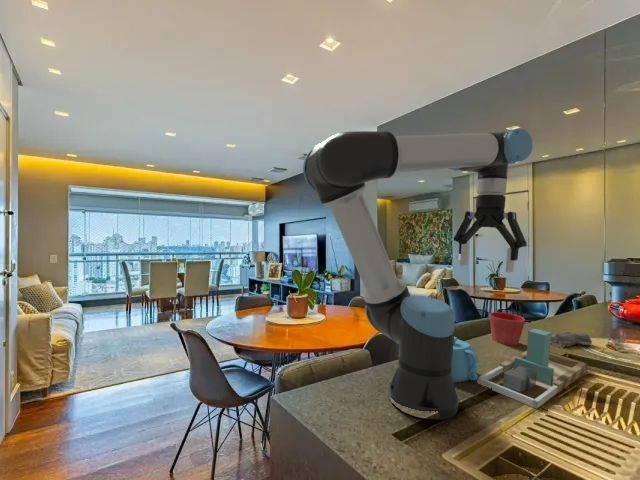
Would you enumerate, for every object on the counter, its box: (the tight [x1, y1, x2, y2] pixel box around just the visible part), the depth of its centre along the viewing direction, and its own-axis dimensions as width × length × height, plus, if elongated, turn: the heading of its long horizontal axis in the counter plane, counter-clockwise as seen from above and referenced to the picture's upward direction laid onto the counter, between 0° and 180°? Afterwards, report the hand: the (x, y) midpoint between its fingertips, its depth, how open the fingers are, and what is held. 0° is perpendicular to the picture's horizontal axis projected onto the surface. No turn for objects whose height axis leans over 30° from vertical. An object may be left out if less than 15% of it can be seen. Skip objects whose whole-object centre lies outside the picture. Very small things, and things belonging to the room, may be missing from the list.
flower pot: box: [488, 311, 526, 346], centre depth 118 cm, size 11×11×10 cm
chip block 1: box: [502, 369, 528, 394], centre depth 85 cm, size 4×4×4 cm
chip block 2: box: [513, 366, 537, 390], centre depth 87 cm, size 4×4×4 cm
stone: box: [550, 331, 593, 347], centre depth 121 cm, size 15×10×4 cm, turn 97°
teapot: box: [451, 336, 479, 383], centre depth 93 cm, size 13×11×18 cm
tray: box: [476, 365, 558, 409], centre depth 84 cm, size 12×14×2 cm
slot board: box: [499, 350, 588, 394], centre depth 95 cm, size 22×14×3 cm, turn 127°
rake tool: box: [514, 328, 554, 385], centre depth 91 cm, size 5×9×12 cm, turn 37°
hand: (485, 268), depth 98 cm, fingers open, 13 cm apart
